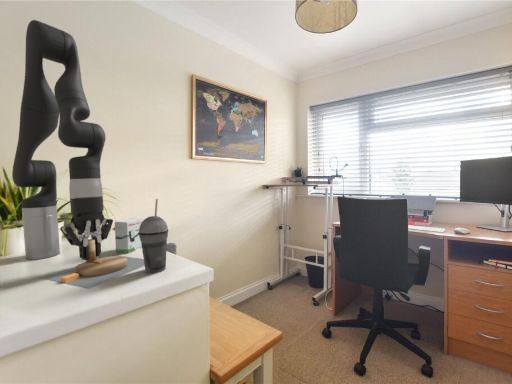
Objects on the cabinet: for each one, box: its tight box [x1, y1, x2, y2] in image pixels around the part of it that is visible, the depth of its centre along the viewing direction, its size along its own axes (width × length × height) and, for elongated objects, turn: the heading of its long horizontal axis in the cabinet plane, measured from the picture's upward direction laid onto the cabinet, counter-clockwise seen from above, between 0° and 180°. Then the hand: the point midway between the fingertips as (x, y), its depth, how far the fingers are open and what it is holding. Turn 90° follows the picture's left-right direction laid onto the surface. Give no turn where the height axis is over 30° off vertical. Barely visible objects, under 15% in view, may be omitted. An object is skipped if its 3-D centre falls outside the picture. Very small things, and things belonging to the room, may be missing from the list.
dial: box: [74, 238, 127, 277], centre depth 69 cm, size 12×12×8 cm
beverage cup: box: [138, 198, 169, 274], centre depth 66 cm, size 7×7×20 cm
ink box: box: [114, 218, 144, 255], centre depth 88 cm, size 9×5×12 cm, turn 168°
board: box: [39, 254, 145, 289], centre depth 69 cm, size 19×20×2 cm
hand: (90, 257), depth 71 cm, fingers closed on dial, 2 cm apart
